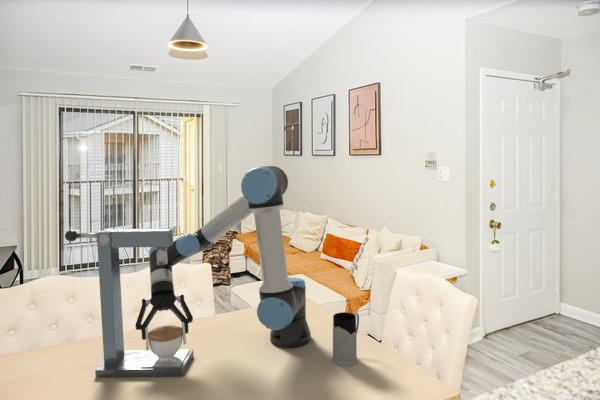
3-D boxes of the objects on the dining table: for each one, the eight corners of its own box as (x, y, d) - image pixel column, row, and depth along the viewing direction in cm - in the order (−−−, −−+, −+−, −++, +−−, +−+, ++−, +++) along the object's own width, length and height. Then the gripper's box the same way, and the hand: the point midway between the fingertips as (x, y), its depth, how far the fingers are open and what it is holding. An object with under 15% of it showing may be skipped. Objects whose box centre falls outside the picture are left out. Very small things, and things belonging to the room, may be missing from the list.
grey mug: (326, 361, 143) (326, 317, 142) (347, 346, 155) (347, 305, 153) (350, 368, 138) (349, 323, 137) (369, 352, 150) (369, 310, 148)
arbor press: (193, 356, 148) (188, 225, 144) (182, 376, 134) (176, 232, 130) (84, 357, 148) (76, 226, 144) (62, 377, 134) (52, 234, 130)
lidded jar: (173, 363, 135) (172, 334, 134) (142, 360, 137) (141, 332, 136) (189, 348, 145) (188, 321, 144) (159, 346, 147) (158, 319, 146)
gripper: (195, 286, 158) (202, 344, 145) (127, 294, 150) (128, 356, 137) (196, 275, 152) (204, 335, 139) (125, 283, 144) (126, 346, 131)
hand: (166, 345), depth 138 cm, fingers closed on lidded jar, 11 cm apart
